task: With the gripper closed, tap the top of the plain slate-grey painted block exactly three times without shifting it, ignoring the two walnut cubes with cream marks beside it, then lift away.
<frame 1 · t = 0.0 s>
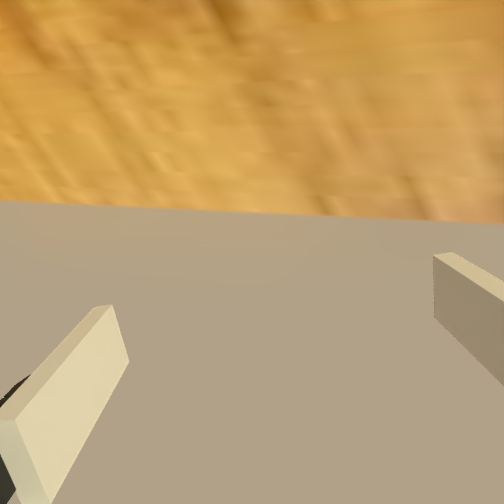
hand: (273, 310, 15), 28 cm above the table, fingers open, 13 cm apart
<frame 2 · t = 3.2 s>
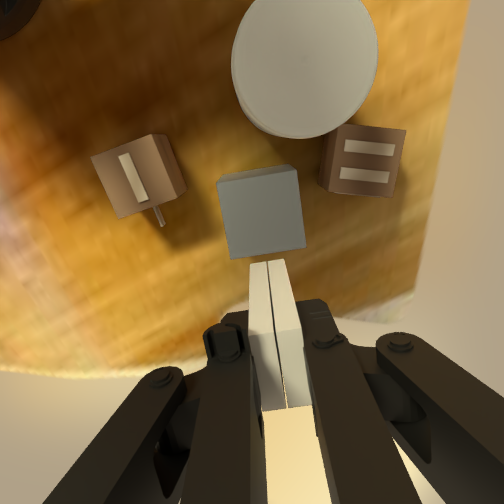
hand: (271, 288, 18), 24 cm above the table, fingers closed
supplement tub: (284, 87, 38), on the table
plain block: (260, 201, 41), on the table
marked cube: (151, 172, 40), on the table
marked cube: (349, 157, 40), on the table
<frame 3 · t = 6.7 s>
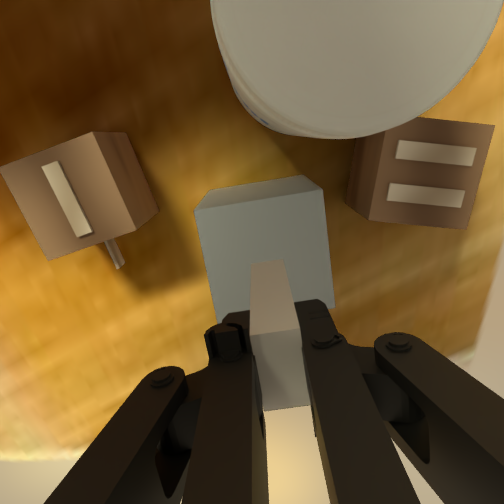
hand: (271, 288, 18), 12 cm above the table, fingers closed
supplement tub: (299, 63, 26), on the table
plain block: (263, 227, 29), on the table
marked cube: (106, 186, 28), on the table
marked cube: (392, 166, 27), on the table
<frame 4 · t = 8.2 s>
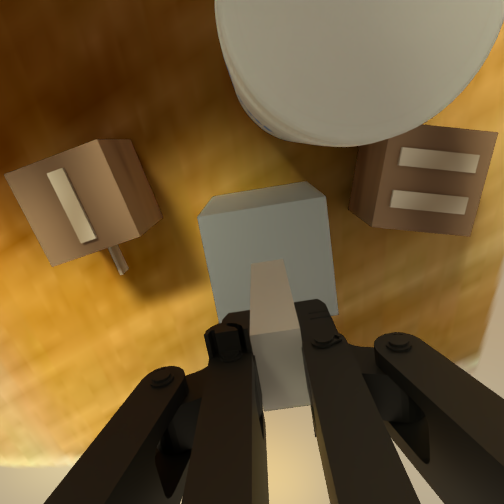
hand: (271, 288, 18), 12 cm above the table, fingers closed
supplement tub: (302, 71, 26), on the table
plain block: (266, 233, 29), on the table
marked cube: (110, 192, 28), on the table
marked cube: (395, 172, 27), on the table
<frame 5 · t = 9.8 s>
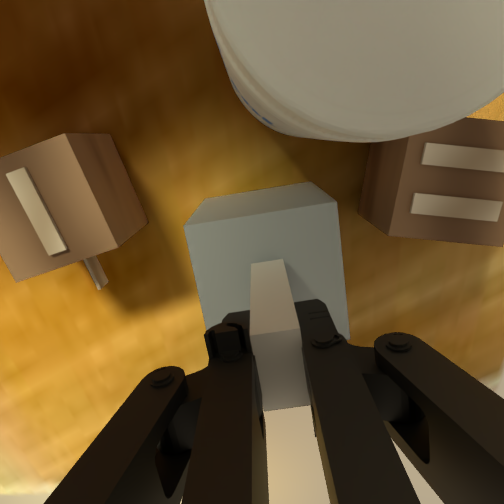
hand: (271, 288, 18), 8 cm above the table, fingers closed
supplement tub: (307, 55, 22), on the table
plain block: (265, 240, 26), on the table
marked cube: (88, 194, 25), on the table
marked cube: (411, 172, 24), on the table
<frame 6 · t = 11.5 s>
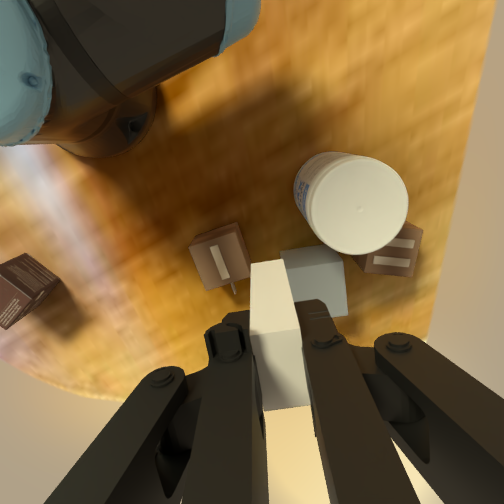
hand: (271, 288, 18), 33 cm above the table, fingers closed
supplement tub: (329, 188, 49), on the table
plain block: (307, 270, 53), on the table
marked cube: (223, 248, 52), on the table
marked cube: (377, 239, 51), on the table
box: (33, 279, 53), on the table
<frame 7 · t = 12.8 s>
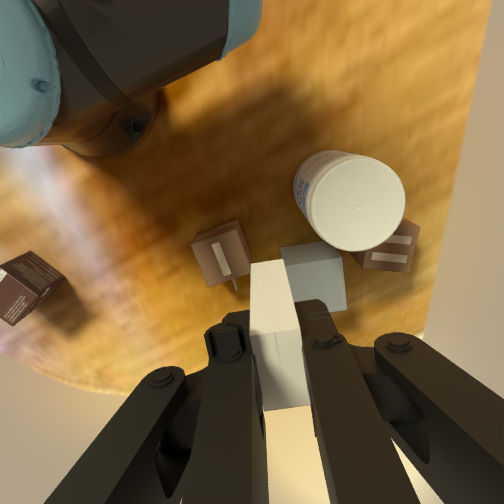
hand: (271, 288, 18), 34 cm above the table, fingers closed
supplement tub: (328, 186, 51), on the table
plain block: (307, 266, 54), on the table
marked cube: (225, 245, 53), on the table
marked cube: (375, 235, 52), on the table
box: (37, 276, 54), on the table
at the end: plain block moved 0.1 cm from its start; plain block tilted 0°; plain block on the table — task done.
